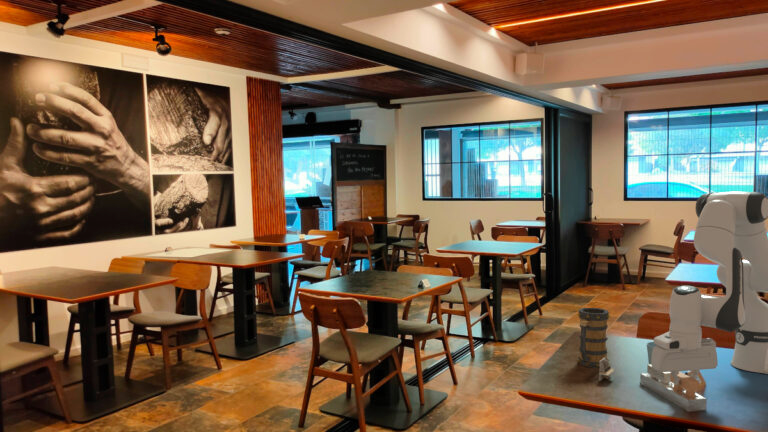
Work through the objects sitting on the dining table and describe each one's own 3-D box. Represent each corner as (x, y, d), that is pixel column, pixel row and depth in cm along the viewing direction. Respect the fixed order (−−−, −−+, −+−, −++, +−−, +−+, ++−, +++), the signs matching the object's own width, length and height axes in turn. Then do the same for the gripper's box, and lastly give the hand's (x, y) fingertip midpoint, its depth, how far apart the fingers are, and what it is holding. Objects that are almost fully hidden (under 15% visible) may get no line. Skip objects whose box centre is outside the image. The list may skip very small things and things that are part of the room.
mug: (616, 362, 218) (617, 310, 217) (598, 374, 205) (599, 318, 204) (583, 355, 227) (583, 305, 225) (564, 366, 214) (564, 313, 213)
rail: (656, 382, 196) (656, 362, 196) (706, 410, 172) (706, 387, 172) (640, 383, 195) (640, 363, 195) (688, 411, 172) (688, 388, 171)
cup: (675, 375, 203) (675, 346, 202) (659, 378, 200) (659, 349, 199) (657, 369, 210) (657, 340, 209) (641, 372, 207) (641, 343, 206)
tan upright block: (678, 393, 182) (679, 371, 182) (698, 404, 174) (699, 381, 173) (670, 393, 182) (670, 372, 182) (689, 404, 173) (690, 382, 173)
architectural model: (614, 379, 201) (615, 358, 200) (608, 385, 195) (608, 363, 195) (604, 377, 203) (605, 357, 202) (598, 383, 197) (598, 362, 197)
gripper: (708, 335, 181) (707, 378, 182) (648, 338, 178) (648, 382, 179) (723, 340, 175) (722, 385, 176) (661, 344, 172) (660, 389, 173)
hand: (684, 383), depth 178 cm, fingers closed on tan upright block, 3 cm apart
